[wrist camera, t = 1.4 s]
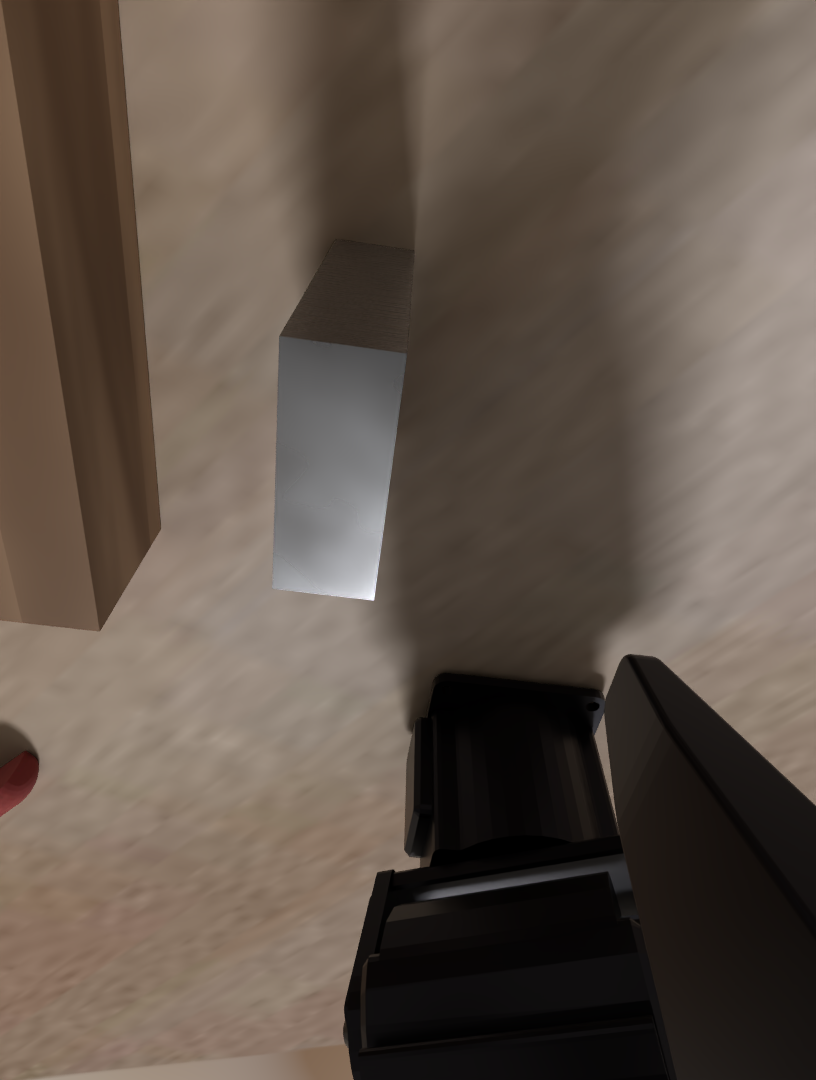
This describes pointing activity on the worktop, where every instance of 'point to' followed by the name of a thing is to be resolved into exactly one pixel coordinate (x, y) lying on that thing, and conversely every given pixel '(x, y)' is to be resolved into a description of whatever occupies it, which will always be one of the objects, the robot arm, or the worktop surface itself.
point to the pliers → (17, 780)
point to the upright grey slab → (340, 419)
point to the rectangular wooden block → (69, 321)
